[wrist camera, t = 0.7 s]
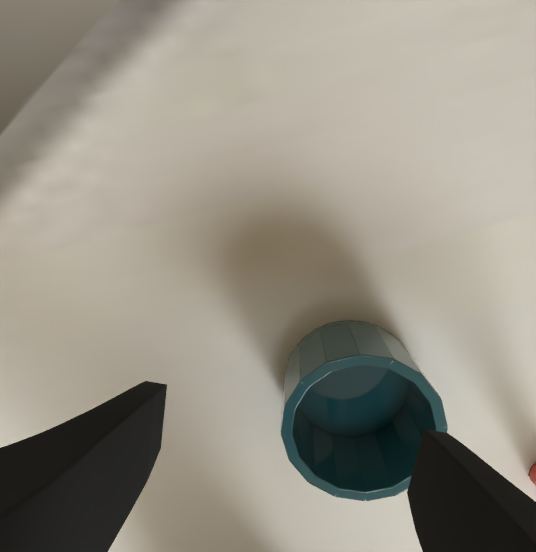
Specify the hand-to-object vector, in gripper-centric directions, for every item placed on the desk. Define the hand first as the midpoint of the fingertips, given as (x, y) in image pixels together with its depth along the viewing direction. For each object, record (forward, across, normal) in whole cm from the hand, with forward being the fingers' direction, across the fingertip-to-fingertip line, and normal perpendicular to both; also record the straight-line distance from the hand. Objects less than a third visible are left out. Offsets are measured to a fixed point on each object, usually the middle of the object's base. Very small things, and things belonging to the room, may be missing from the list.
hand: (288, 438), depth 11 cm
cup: (+10, -4, +3) cm, 11 cm away
